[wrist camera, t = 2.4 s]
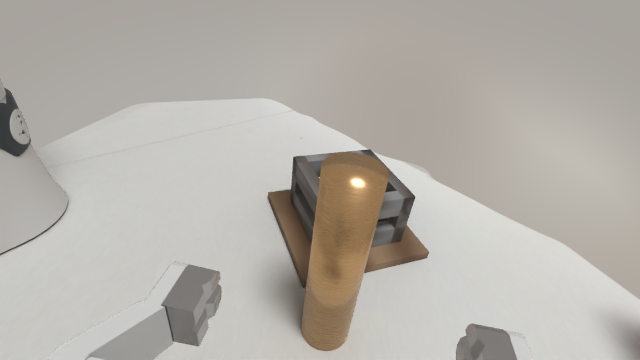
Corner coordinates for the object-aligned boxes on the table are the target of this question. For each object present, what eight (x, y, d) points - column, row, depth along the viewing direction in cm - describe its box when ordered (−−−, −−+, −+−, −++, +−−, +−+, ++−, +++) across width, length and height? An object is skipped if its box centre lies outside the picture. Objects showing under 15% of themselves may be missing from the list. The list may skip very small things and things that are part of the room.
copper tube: (310, 357, 30) (337, 193, 20) (295, 313, 33) (312, 155, 23) (355, 342, 31) (402, 184, 21) (336, 302, 35) (369, 149, 25)
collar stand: (303, 287, 36) (310, 231, 31) (268, 198, 48) (269, 148, 43) (426, 257, 41) (447, 207, 37) (367, 184, 53) (377, 139, 49)
